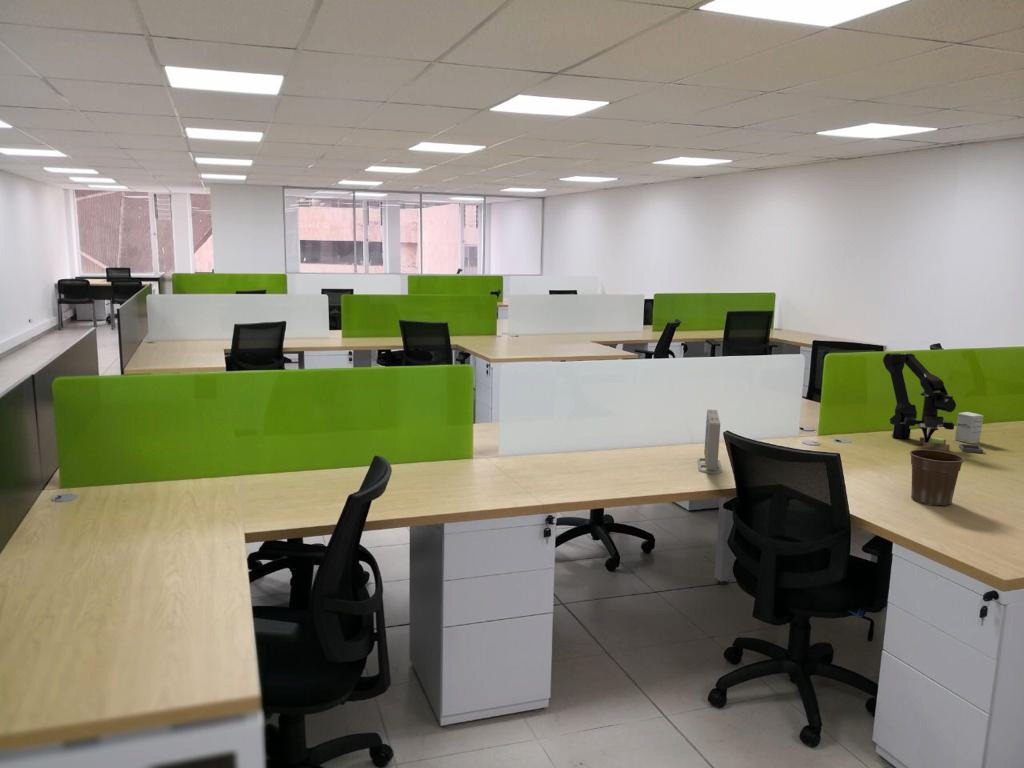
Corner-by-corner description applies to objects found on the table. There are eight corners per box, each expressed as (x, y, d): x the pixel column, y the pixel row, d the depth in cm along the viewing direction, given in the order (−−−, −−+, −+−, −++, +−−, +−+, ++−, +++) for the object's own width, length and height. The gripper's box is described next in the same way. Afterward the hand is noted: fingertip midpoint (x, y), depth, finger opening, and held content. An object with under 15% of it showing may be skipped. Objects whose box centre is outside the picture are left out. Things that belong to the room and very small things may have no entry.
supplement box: (954, 440, 352) (957, 412, 350) (964, 438, 355) (968, 411, 353) (969, 443, 346) (973, 416, 344) (980, 442, 349) (984, 414, 347)
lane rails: (922, 448, 336) (923, 442, 335) (919, 442, 346) (919, 437, 346) (949, 451, 332) (949, 445, 332) (944, 445, 343) (945, 439, 342)
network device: (723, 476, 288) (726, 423, 285) (698, 474, 290) (702, 422, 287) (719, 458, 313) (722, 409, 310) (696, 456, 315) (700, 408, 311)
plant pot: (910, 490, 277) (916, 446, 274) (962, 500, 267) (968, 454, 264) (899, 501, 265) (904, 455, 262) (952, 512, 254) (958, 464, 252)
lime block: (930, 447, 338) (931, 439, 337) (928, 444, 342) (929, 437, 341) (943, 448, 336) (944, 441, 335) (941, 446, 340) (942, 438, 340)
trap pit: (962, 451, 332) (962, 448, 332) (958, 447, 339) (959, 443, 339) (982, 453, 330) (983, 450, 329) (979, 449, 337) (979, 445, 337)
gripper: (908, 408, 333) (904, 444, 336) (958, 413, 327) (953, 449, 329) (905, 404, 343) (901, 438, 346) (953, 408, 337) (949, 443, 340)
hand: (926, 442), depth 340 cm, fingers closed
